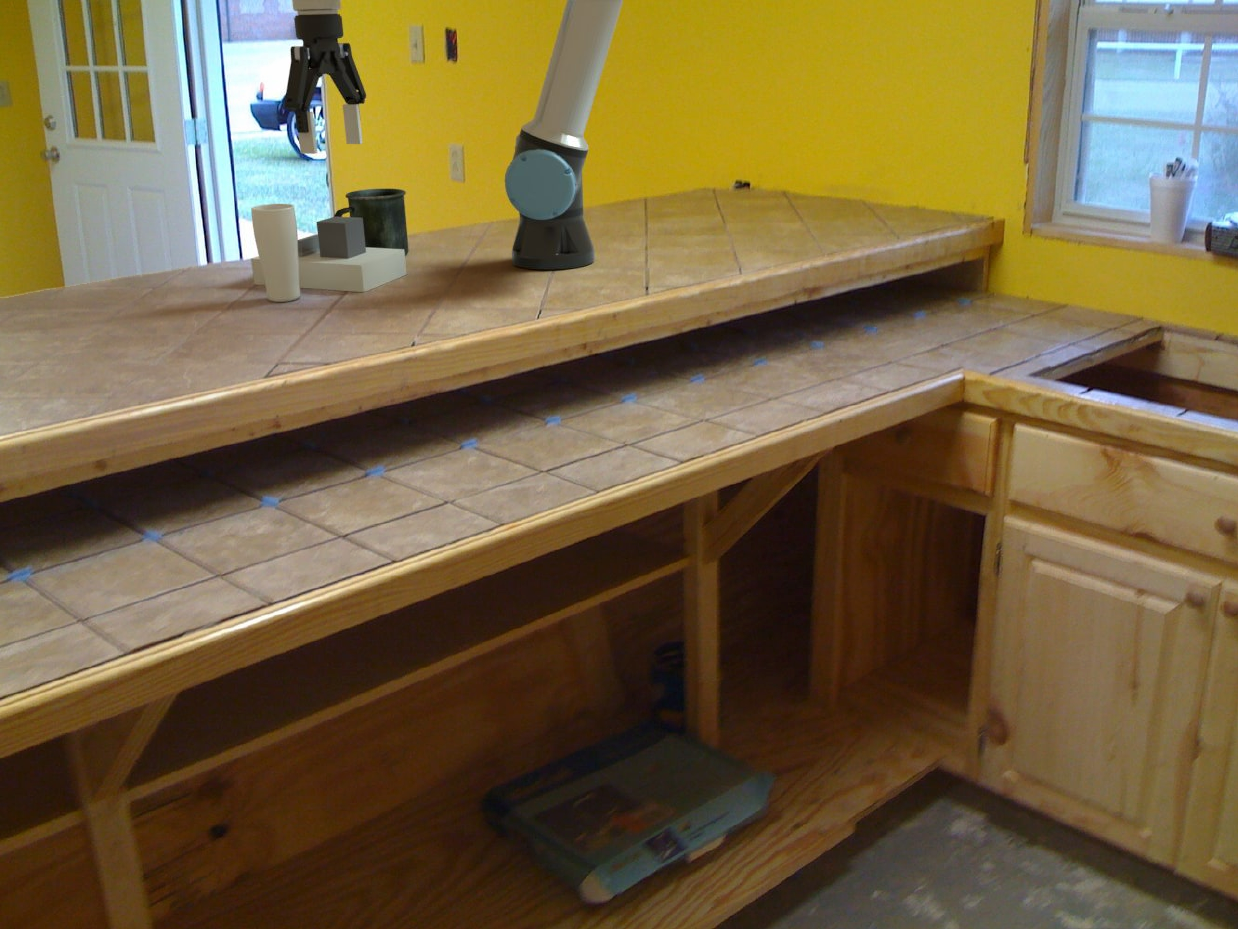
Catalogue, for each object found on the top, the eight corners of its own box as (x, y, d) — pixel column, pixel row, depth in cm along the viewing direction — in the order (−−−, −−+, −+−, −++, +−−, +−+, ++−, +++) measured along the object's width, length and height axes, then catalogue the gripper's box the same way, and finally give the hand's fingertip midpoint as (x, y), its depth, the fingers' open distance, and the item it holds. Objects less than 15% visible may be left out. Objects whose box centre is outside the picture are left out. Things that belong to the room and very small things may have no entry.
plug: (368, 275, 209) (362, 217, 205) (350, 281, 204) (344, 223, 200) (341, 273, 211) (334, 216, 207) (323, 280, 206) (316, 221, 202)
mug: (422, 256, 226) (416, 192, 222) (353, 267, 218) (346, 201, 213) (392, 248, 234) (387, 186, 230) (325, 259, 225) (318, 195, 221)
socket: (406, 274, 211) (404, 249, 209) (363, 292, 198) (361, 265, 197) (301, 268, 218) (298, 243, 216) (254, 284, 206) (250, 258, 204)
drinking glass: (283, 305, 191) (271, 211, 185) (253, 301, 194) (241, 208, 189) (314, 297, 196) (303, 205, 190) (285, 292, 199) (273, 202, 194)
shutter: (324, 249, 210) (322, 234, 209) (303, 256, 205) (301, 241, 204) (293, 247, 213) (291, 232, 212) (271, 254, 207) (269, 239, 206)
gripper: (340, 12, 204) (353, 139, 211) (249, 14, 182) (268, 157, 190) (378, 11, 201) (390, 140, 209) (291, 13, 179) (308, 157, 187)
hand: (332, 148), depth 199 cm, fingers open, 13 cm apart
